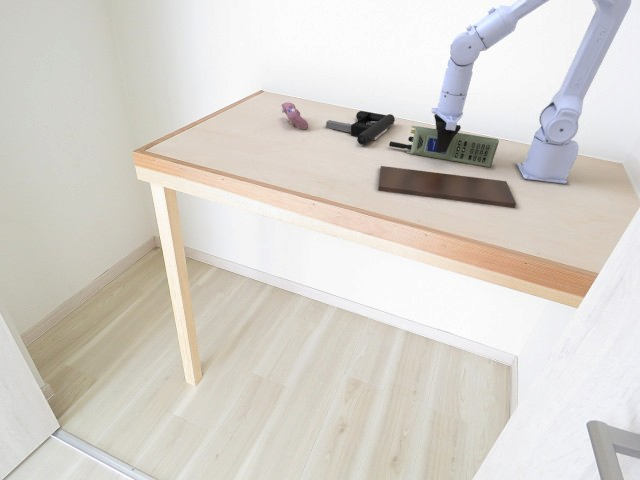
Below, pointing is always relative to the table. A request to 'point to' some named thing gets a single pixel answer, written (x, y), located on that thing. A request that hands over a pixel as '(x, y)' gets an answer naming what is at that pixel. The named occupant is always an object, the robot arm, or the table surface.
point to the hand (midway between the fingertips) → (440, 148)
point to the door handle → (365, 126)
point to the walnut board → (446, 186)
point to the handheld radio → (452, 147)
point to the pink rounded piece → (294, 115)
